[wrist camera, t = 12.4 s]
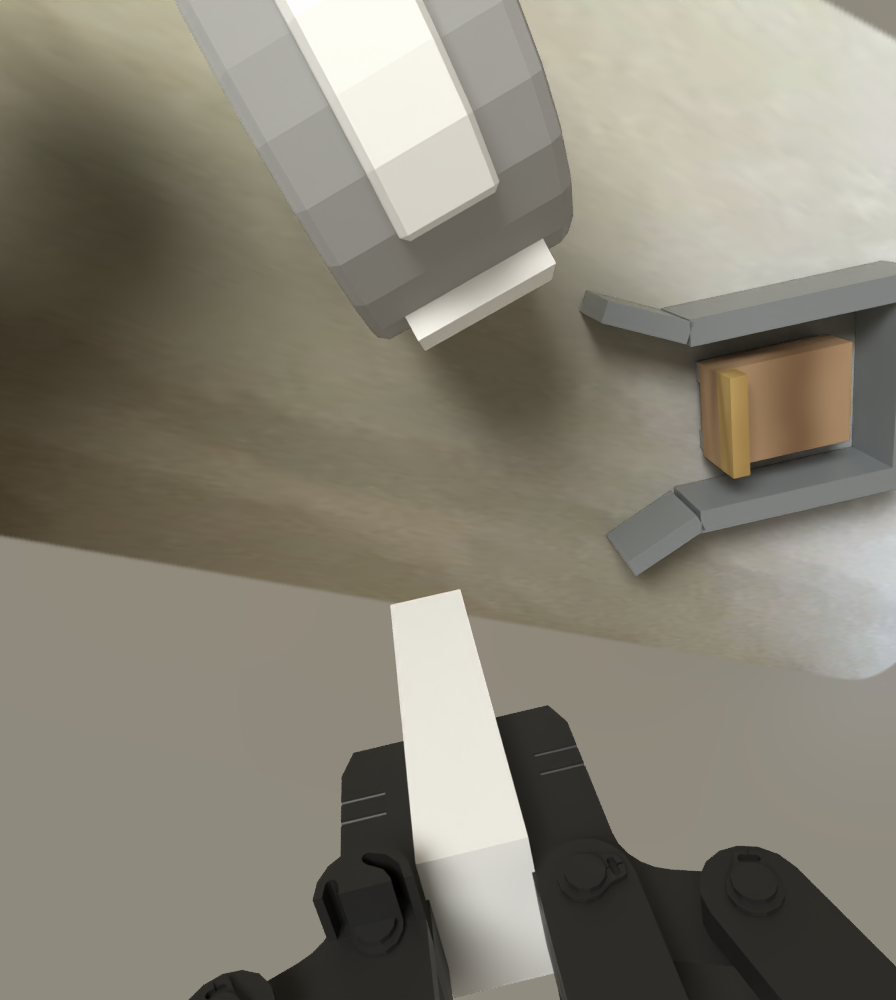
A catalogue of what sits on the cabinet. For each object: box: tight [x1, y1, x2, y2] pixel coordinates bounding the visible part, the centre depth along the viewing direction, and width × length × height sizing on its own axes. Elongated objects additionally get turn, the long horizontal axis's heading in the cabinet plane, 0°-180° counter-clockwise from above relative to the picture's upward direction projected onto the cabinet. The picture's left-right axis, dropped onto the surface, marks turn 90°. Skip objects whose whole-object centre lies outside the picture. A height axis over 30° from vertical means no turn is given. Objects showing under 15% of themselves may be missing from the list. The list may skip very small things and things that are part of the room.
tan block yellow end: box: [696, 334, 853, 479], centre depth 44 cm, size 8×6×5 cm
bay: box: [580, 261, 896, 576], centre depth 45 cm, size 18×17×4 cm
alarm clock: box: [174, 0, 573, 351], centre depth 29 cm, size 18×8×20 cm, turn 28°
